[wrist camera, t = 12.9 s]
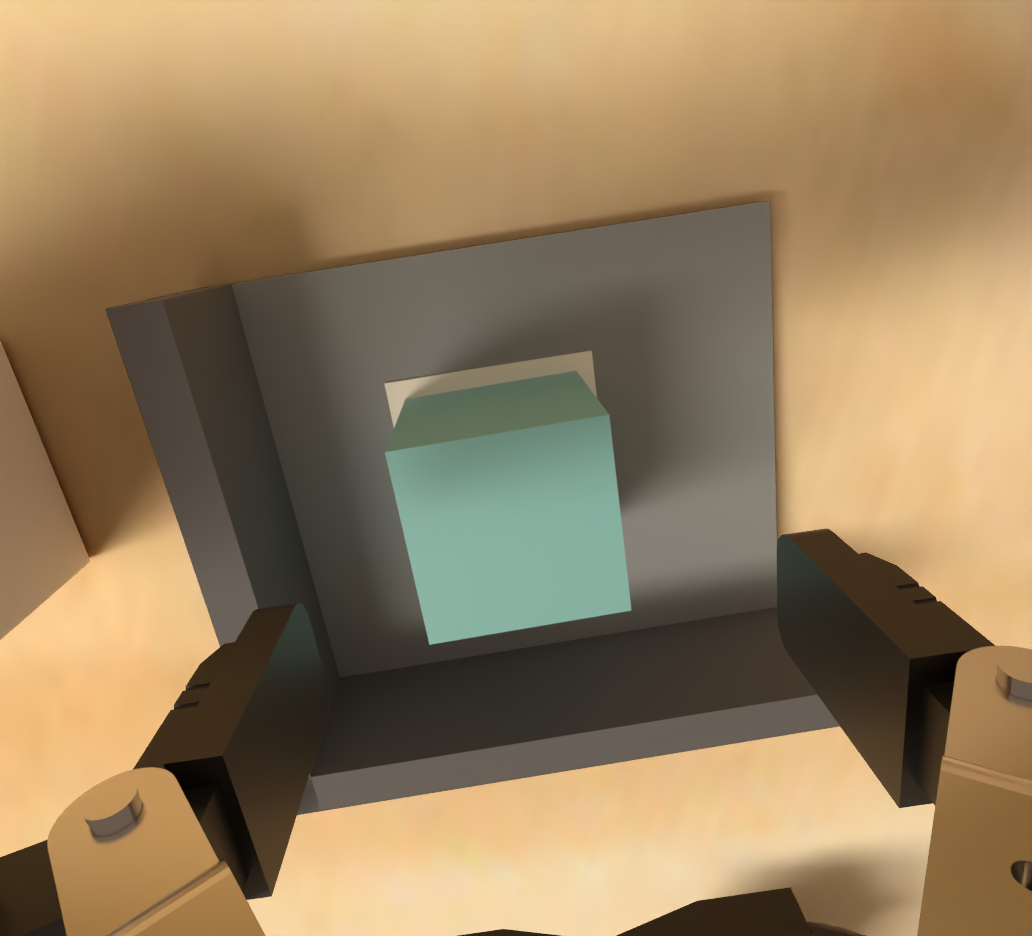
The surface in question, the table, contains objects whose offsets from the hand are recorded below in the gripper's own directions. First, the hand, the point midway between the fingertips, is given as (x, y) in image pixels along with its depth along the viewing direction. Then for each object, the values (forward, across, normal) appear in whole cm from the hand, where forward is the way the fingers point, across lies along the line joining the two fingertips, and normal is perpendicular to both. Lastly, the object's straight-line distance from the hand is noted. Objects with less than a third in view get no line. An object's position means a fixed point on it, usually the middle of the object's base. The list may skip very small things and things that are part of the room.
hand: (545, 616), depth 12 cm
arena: (+10, 0, +1) cm, 10 cm away
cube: (+9, 0, 0) cm, 9 cm away
